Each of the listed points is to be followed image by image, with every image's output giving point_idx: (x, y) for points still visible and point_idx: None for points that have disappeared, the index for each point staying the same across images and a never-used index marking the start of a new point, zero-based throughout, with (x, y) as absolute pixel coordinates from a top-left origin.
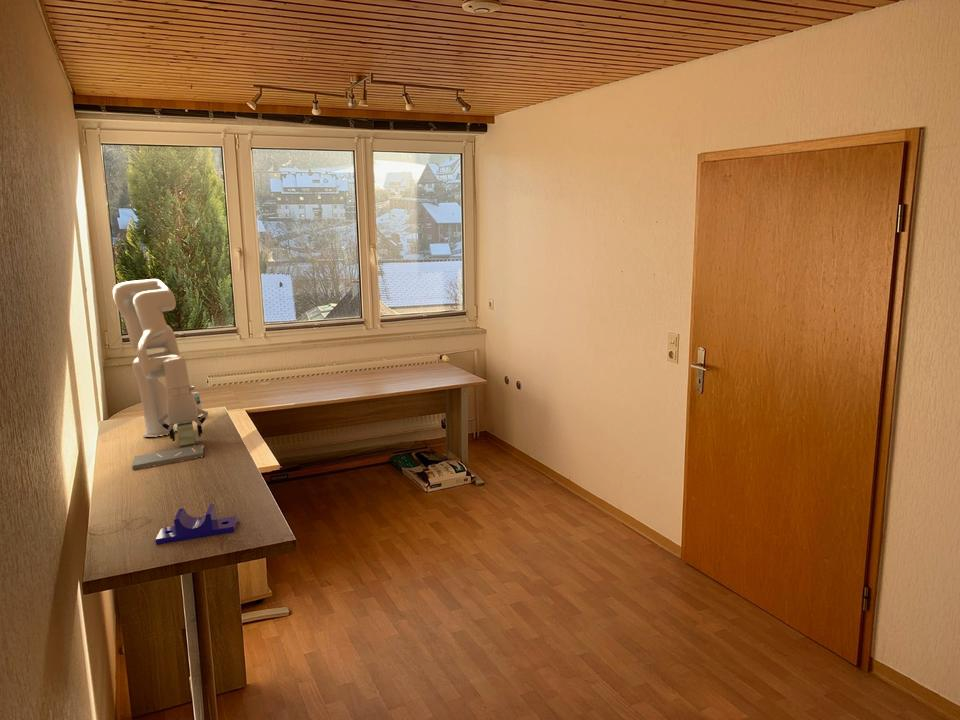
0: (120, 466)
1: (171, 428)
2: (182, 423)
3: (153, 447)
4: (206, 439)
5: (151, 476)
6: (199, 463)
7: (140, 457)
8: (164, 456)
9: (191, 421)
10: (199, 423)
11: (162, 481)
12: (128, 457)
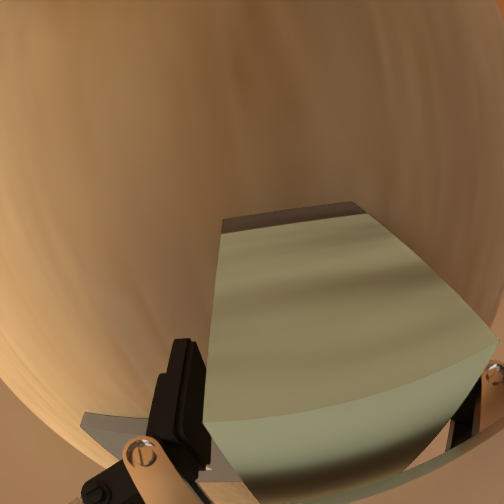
0: (76, 430)
1: (195, 487)
2: (322, 467)
3: (32, 237)
4: (427, 214)
5: (222, 492)
6: None
7: (118, 447)
8: (220, 470)
9: (454, 409)
10: (465, 421)
11: (254, 500)
12: (22, 358)
